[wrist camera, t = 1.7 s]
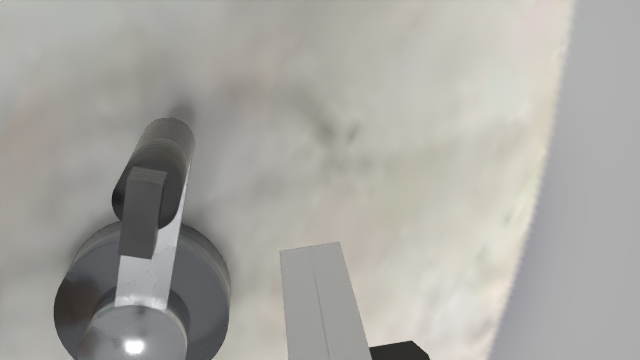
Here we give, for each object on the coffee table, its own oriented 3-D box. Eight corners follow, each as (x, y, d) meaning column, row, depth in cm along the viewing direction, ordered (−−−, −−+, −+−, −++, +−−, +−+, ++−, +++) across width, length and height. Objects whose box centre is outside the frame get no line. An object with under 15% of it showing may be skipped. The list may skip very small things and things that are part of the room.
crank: (183, 362, 34) (164, 484, 26) (89, 351, 33) (42, 474, 25) (225, 125, 29) (217, 193, 22) (117, 105, 28) (69, 169, 21)
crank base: (212, 378, 38) (210, 414, 35) (61, 362, 36) (46, 397, 34) (243, 230, 34) (242, 256, 32) (76, 205, 33) (60, 230, 30)
